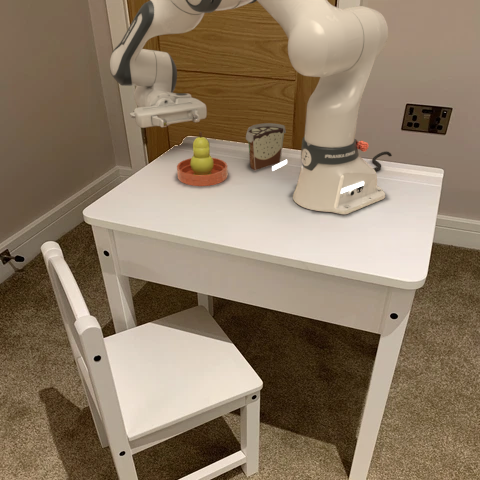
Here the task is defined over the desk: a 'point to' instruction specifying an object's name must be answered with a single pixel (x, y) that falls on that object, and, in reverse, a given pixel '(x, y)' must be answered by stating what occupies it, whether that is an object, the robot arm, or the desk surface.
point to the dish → (216, 176)
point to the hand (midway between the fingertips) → (180, 121)
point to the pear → (201, 157)
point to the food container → (265, 144)
